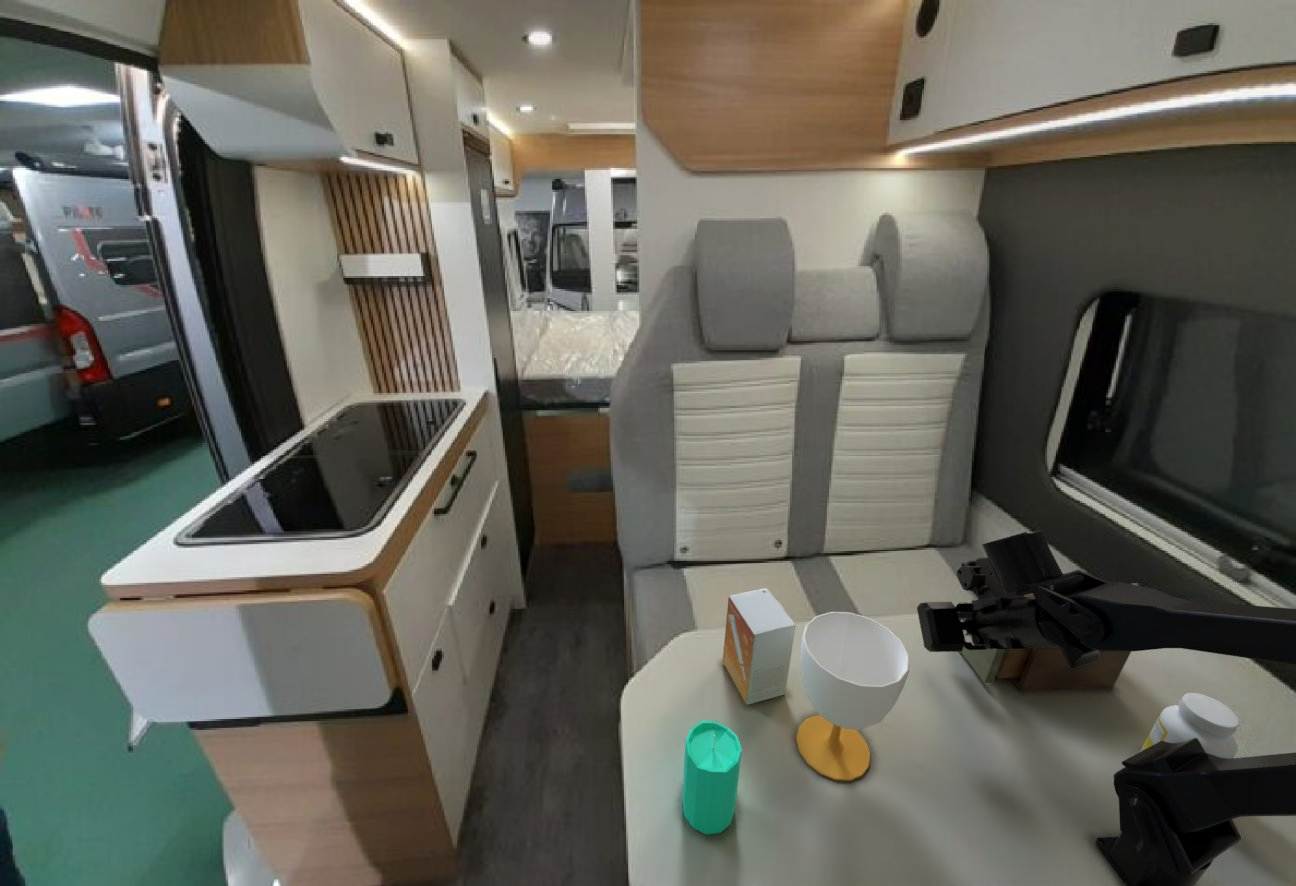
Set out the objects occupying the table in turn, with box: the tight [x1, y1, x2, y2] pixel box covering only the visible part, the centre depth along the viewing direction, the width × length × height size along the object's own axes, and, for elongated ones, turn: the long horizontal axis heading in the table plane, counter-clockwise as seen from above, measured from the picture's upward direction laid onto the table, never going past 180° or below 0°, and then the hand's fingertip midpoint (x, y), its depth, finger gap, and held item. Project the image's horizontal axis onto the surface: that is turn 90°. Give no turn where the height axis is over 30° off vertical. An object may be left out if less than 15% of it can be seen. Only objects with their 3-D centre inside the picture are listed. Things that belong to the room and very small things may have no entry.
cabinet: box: [1010, 593, 1132, 692], centre depth 80 cm, size 14×11×9 cm
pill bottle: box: [1139, 692, 1240, 759], centre depth 63 cm, size 6×6×12 cm
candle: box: [681, 720, 743, 835], centre depth 59 cm, size 6×6×12 cm
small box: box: [722, 587, 797, 706], centre depth 76 cm, size 8×6×13 cm
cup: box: [795, 611, 910, 782], centre depth 65 cm, size 12×12×17 cm
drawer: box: [958, 601, 1033, 685], centre depth 80 cm, size 18×9×7 cm, turn 92°
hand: (956, 627), depth 79 cm, fingers closed
